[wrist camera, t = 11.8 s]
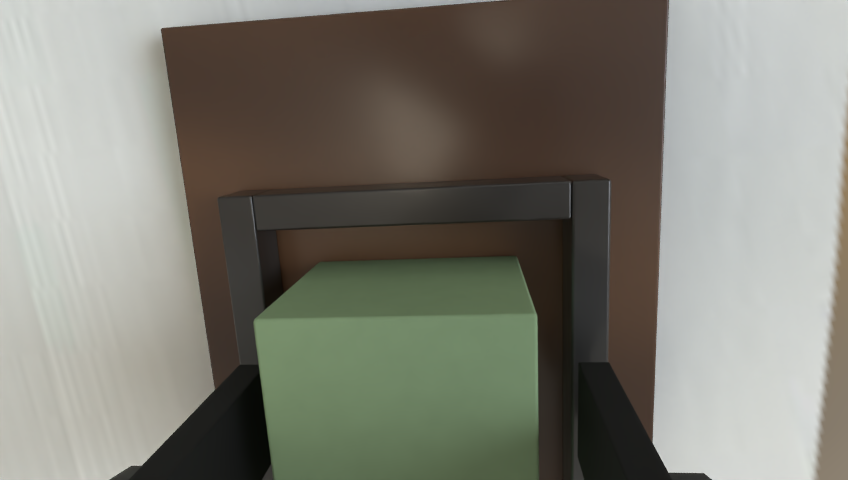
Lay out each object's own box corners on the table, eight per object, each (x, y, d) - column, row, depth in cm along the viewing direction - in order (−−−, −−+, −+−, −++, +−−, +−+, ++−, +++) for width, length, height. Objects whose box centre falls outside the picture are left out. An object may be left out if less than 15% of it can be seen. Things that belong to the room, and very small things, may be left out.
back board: (178, 33, 16) (125, 17, 14) (656, -5, 15) (693, -31, 12) (264, 629, 20) (236, 697, 18) (635, 644, 19) (659, 720, 17)
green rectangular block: (318, 261, 16) (250, 319, 11) (517, 254, 15) (538, 314, 11) (341, 491, 18) (291, 629, 13) (521, 493, 17) (540, 640, 12)
